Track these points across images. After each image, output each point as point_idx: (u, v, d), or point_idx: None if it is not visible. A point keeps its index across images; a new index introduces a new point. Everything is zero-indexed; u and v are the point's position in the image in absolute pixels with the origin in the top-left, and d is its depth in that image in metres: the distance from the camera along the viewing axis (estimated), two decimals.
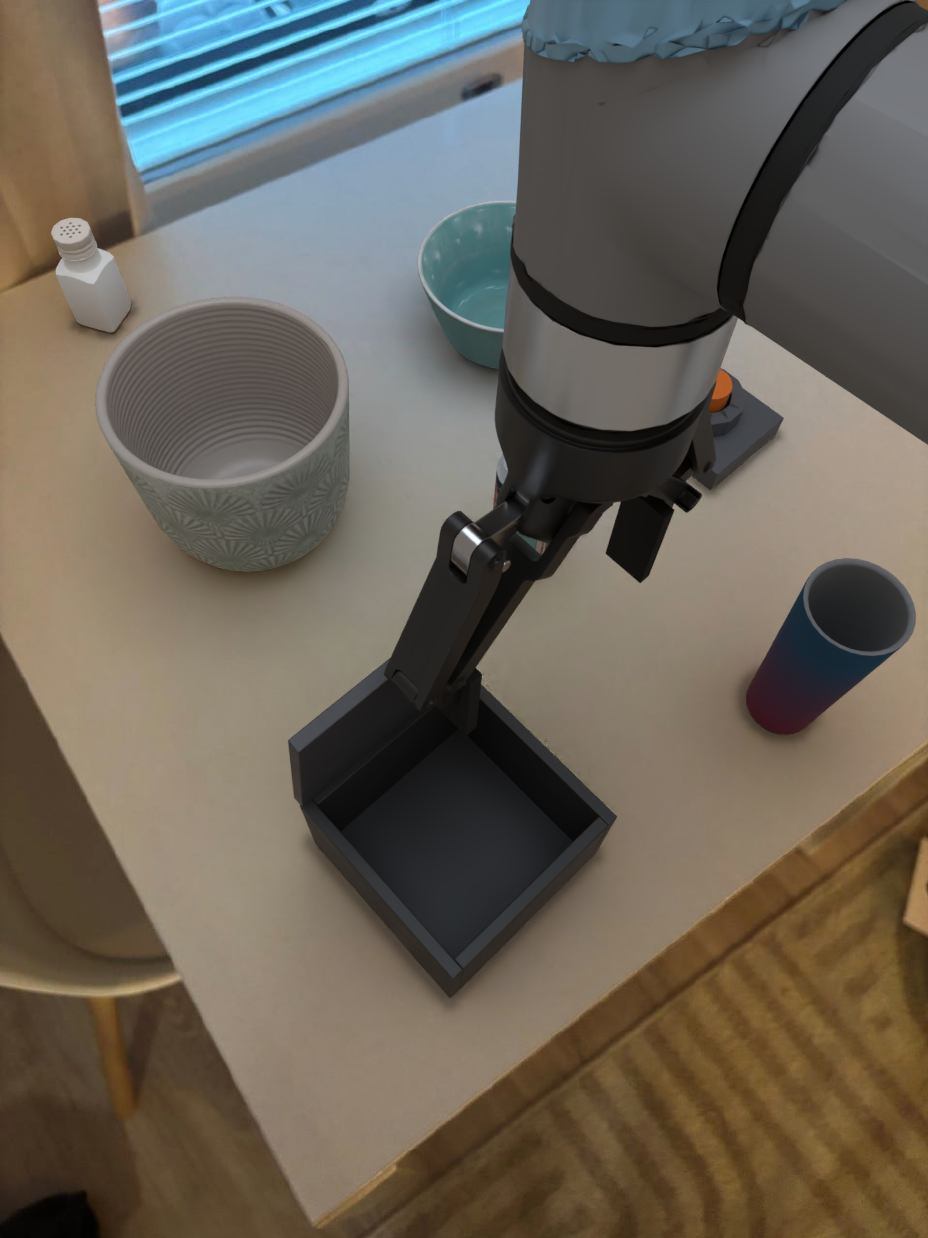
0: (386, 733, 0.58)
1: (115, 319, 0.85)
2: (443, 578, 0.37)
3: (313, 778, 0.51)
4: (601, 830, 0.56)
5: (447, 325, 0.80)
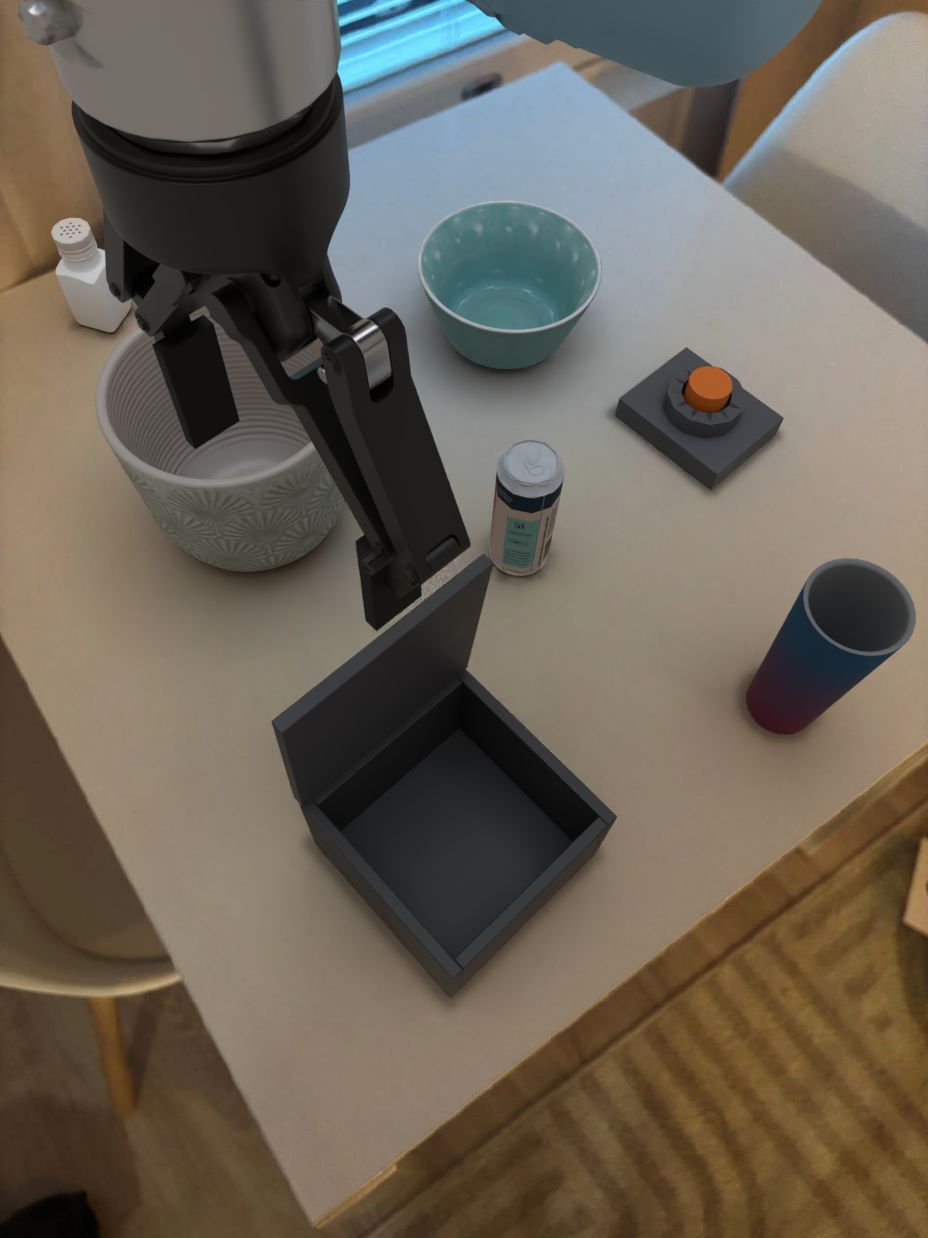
0: (385, 732, 0.58)
1: (115, 319, 0.85)
2: (377, 418, 0.30)
3: (307, 771, 0.51)
4: (601, 830, 0.56)
5: (447, 325, 0.80)
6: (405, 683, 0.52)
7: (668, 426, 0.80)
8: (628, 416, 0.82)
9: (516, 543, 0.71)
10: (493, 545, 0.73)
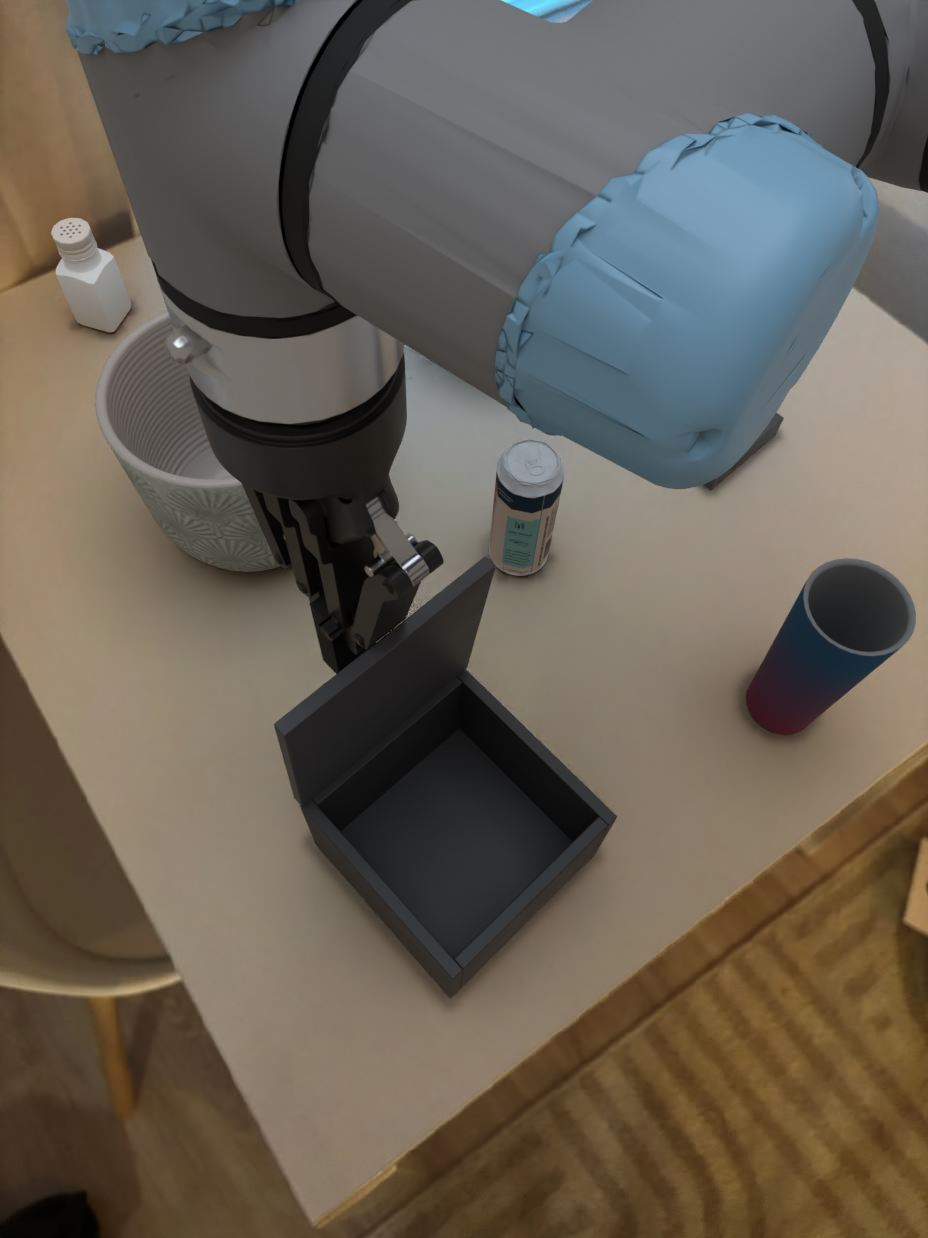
0: (385, 732, 0.58)
1: (115, 319, 0.85)
2: None
3: (308, 772, 0.51)
4: (601, 830, 0.56)
5: None
6: (406, 684, 0.52)
7: None
8: None
9: (516, 543, 0.71)
10: (493, 545, 0.73)
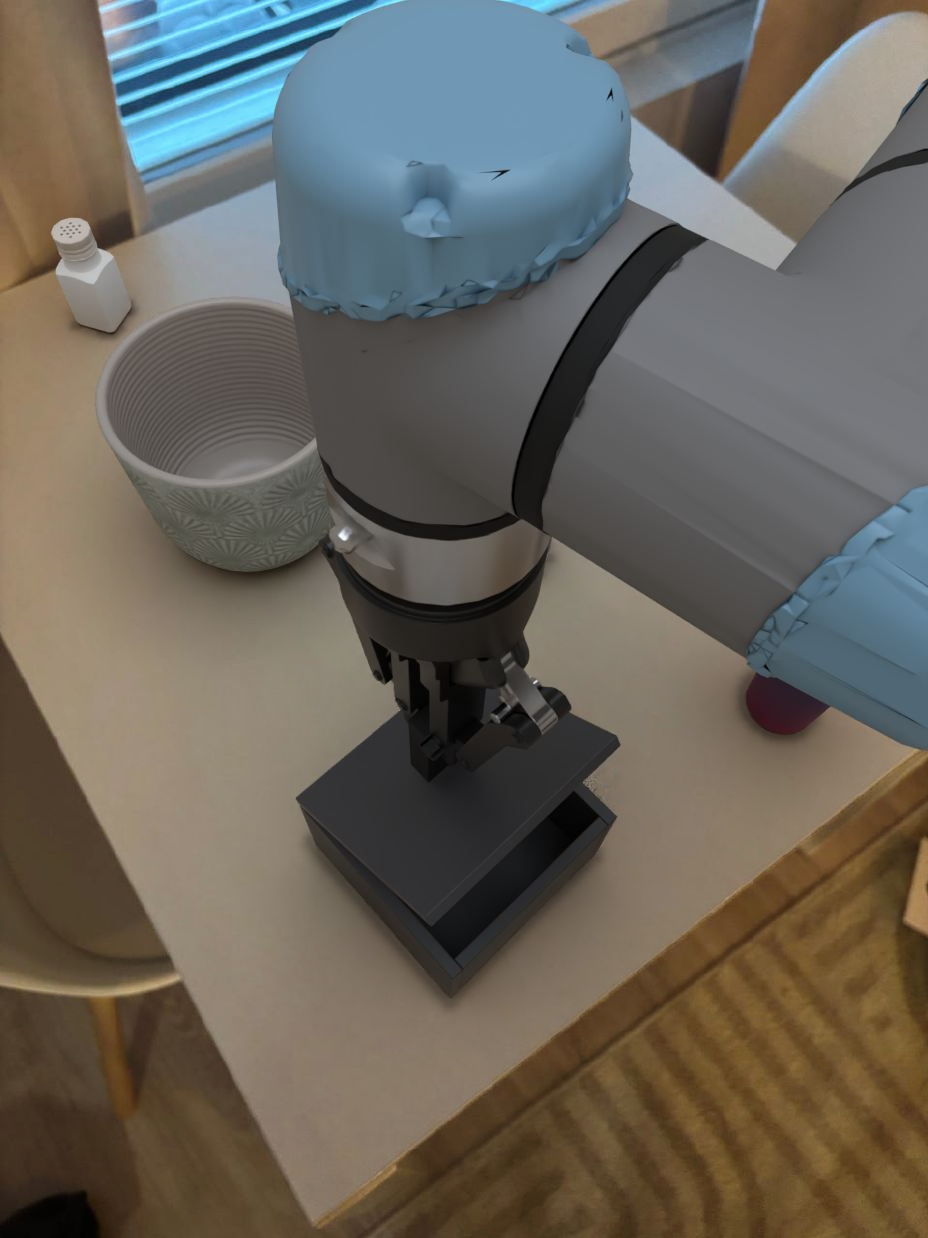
0: None
1: (115, 319, 0.85)
2: None
3: None
4: (601, 830, 0.56)
5: None
6: None
7: None
8: None
9: None
10: None
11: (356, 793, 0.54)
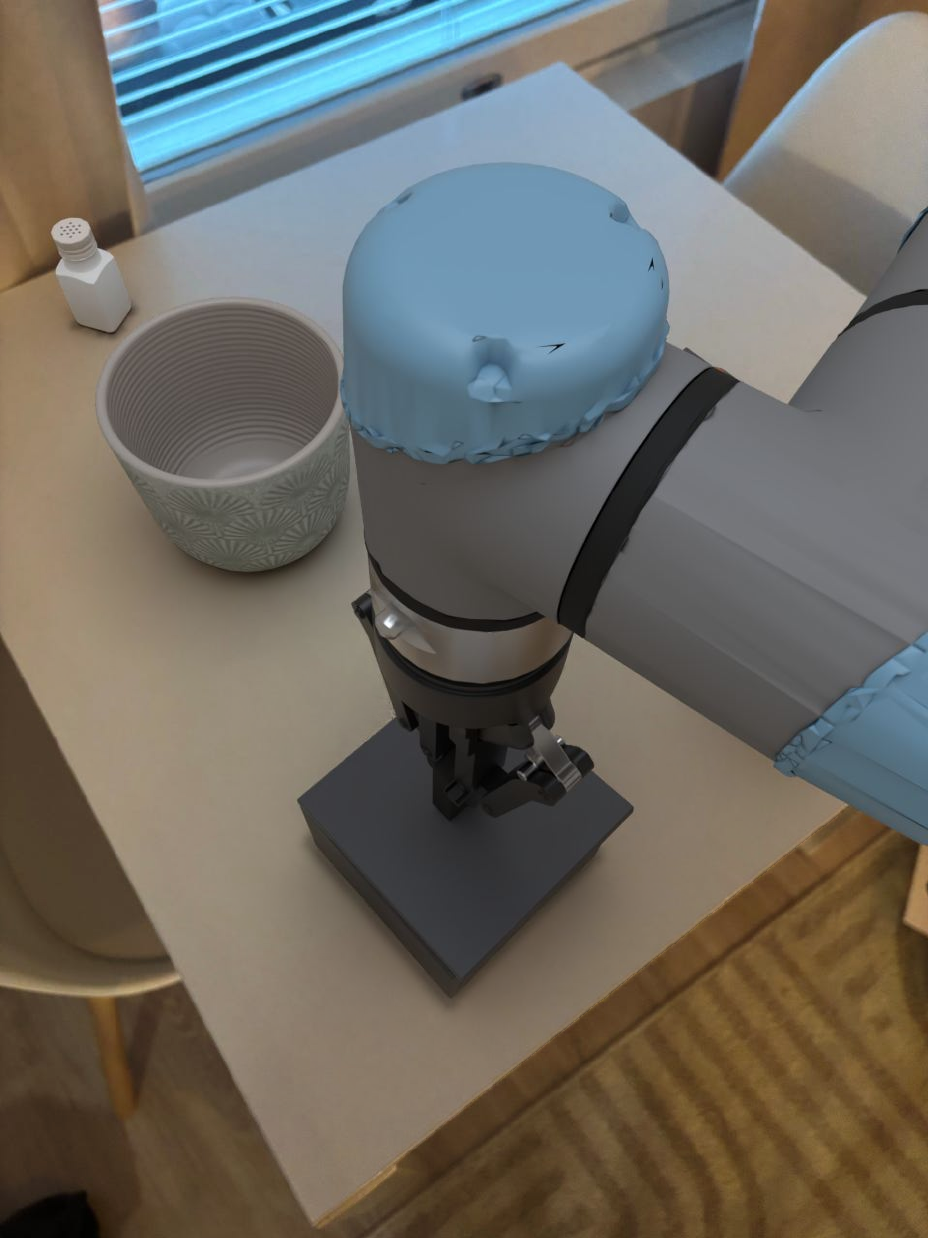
0: None
1: (115, 319, 0.85)
2: None
3: None
4: None
5: None
6: None
7: None
8: None
9: None
10: None
11: (366, 810, 0.55)
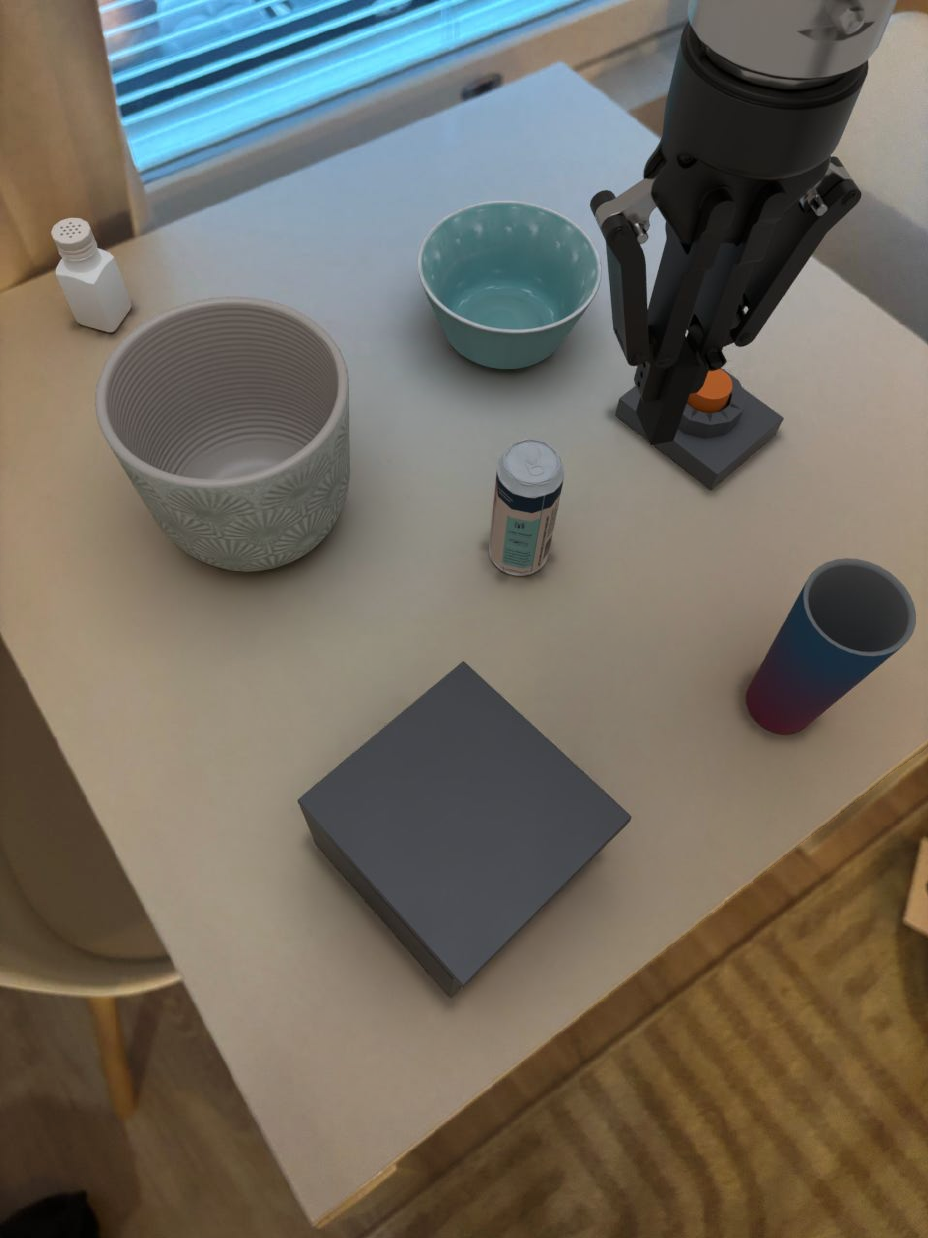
0: None
1: (115, 319, 0.85)
2: None
3: None
4: None
5: (447, 325, 0.80)
6: None
7: None
8: (628, 416, 0.82)
9: (516, 543, 0.71)
10: (493, 545, 0.73)
11: (368, 813, 0.55)
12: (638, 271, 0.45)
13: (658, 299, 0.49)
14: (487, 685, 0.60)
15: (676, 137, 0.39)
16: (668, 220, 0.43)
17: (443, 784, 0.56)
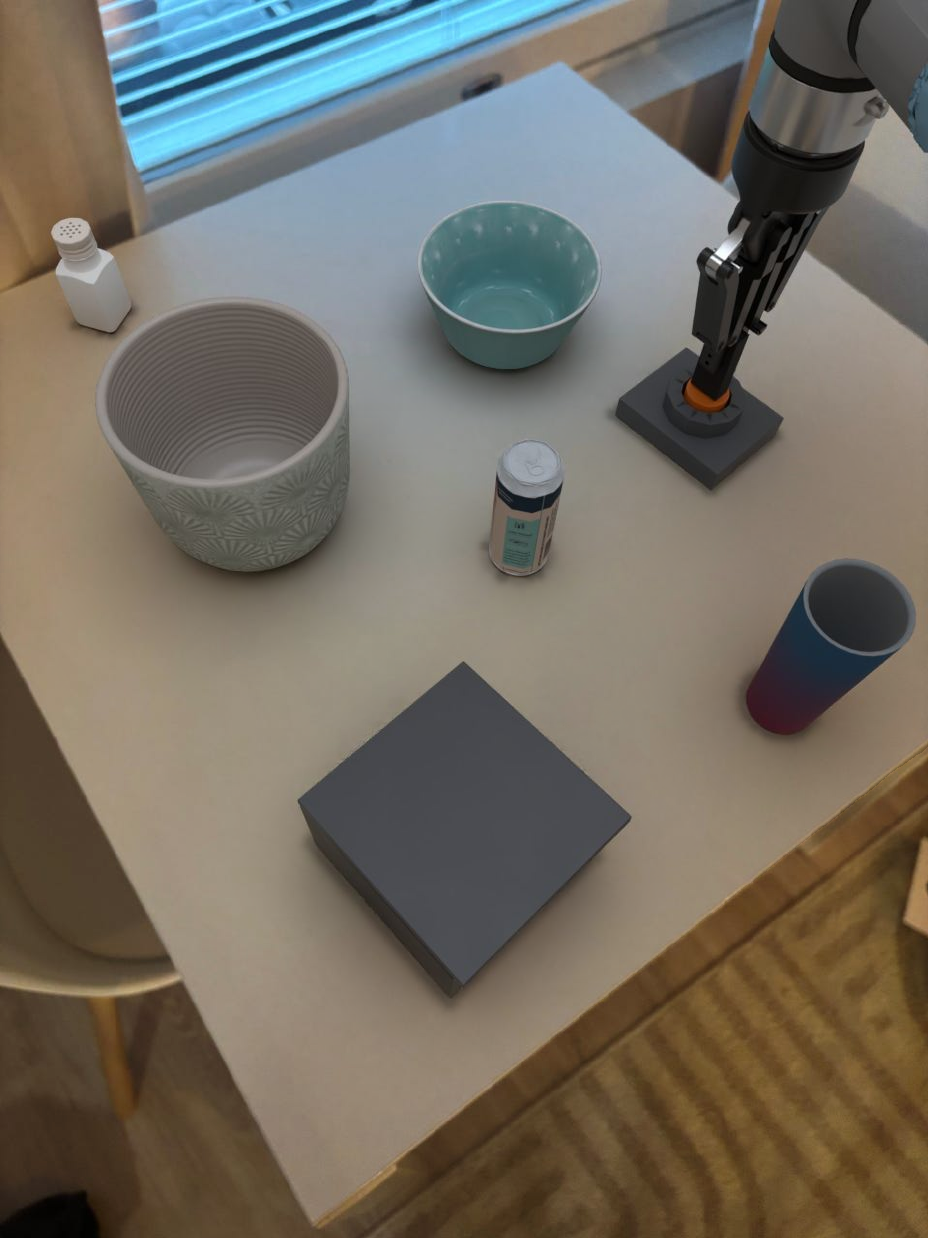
0: None
1: (115, 319, 0.85)
2: None
3: None
4: None
5: (447, 325, 0.80)
6: None
7: (668, 426, 0.80)
8: (628, 416, 0.82)
9: (516, 543, 0.71)
10: (493, 545, 0.73)
11: (368, 813, 0.55)
12: (734, 290, 0.65)
13: None
14: (487, 685, 0.60)
15: (761, 202, 0.59)
16: (749, 252, 0.63)
17: (443, 784, 0.56)
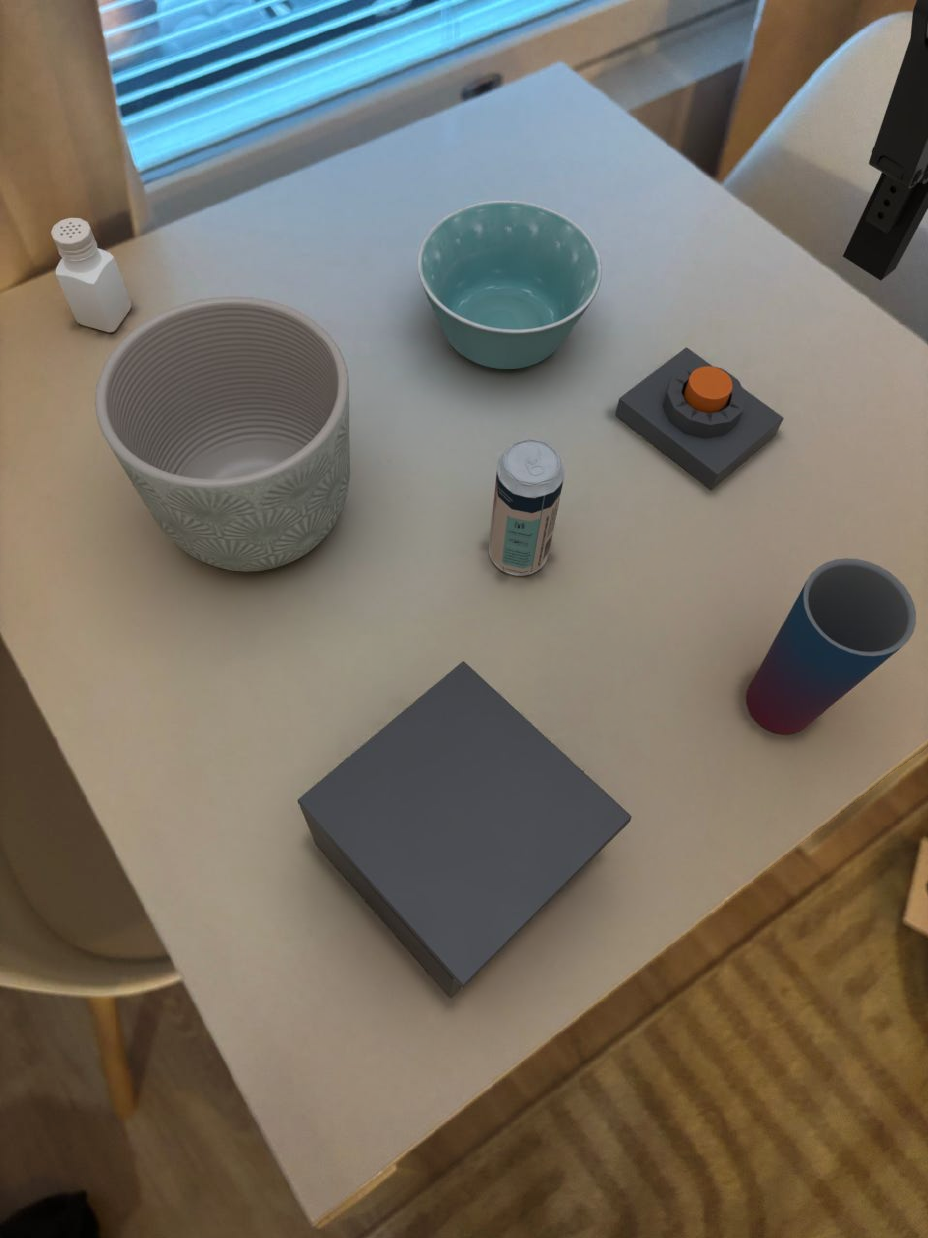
0: None
1: (115, 319, 0.85)
2: None
3: None
4: None
5: (447, 325, 0.80)
6: None
7: (668, 426, 0.80)
8: (628, 416, 0.82)
9: (516, 543, 0.71)
10: (493, 545, 0.73)
11: (368, 813, 0.55)
12: None
13: None
14: (487, 685, 0.60)
15: None
16: None
17: (443, 784, 0.56)
